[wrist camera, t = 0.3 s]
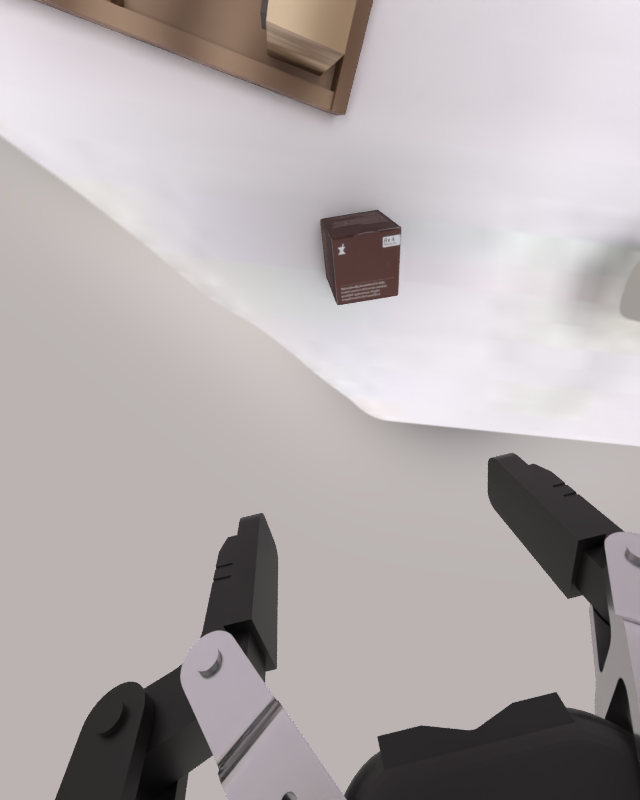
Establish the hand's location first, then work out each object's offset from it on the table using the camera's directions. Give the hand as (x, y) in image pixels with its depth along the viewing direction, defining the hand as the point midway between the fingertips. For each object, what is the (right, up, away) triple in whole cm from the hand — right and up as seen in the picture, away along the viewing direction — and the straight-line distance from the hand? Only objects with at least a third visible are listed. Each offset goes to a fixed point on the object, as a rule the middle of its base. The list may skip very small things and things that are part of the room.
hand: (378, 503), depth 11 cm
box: (+1, +20, +23) cm, 30 cm away
